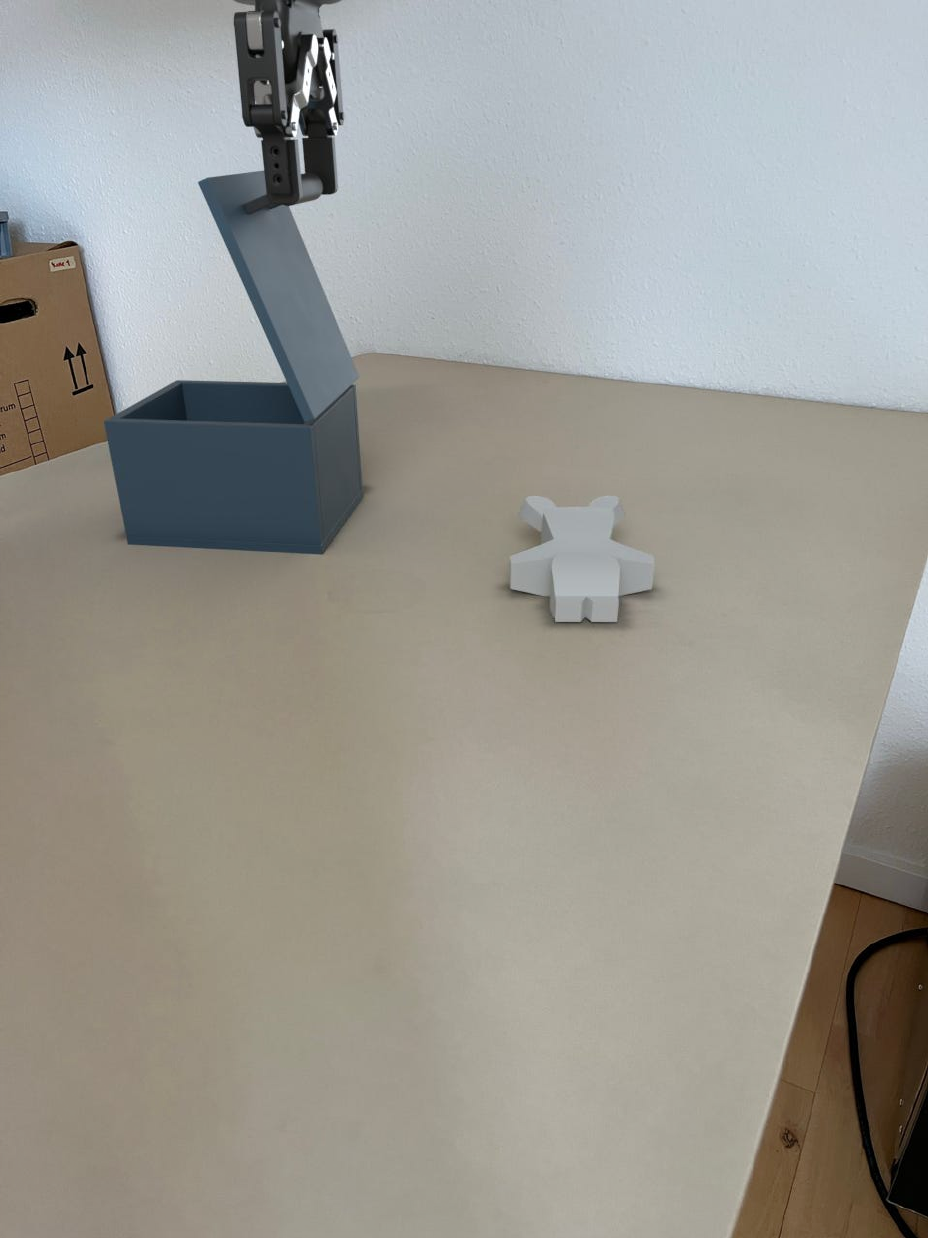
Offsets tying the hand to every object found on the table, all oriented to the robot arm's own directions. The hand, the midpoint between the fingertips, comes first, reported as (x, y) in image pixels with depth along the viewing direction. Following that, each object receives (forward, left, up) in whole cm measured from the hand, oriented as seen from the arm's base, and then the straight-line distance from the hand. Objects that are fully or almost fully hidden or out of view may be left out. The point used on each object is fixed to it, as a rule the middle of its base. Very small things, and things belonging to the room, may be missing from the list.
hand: (305, 198), depth 65 cm
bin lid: (-2, 0, -6) cm, 7 cm away
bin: (-7, 0, -24) cm, 25 cm away
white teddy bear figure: (+20, -9, -24) cm, 33 cm away
